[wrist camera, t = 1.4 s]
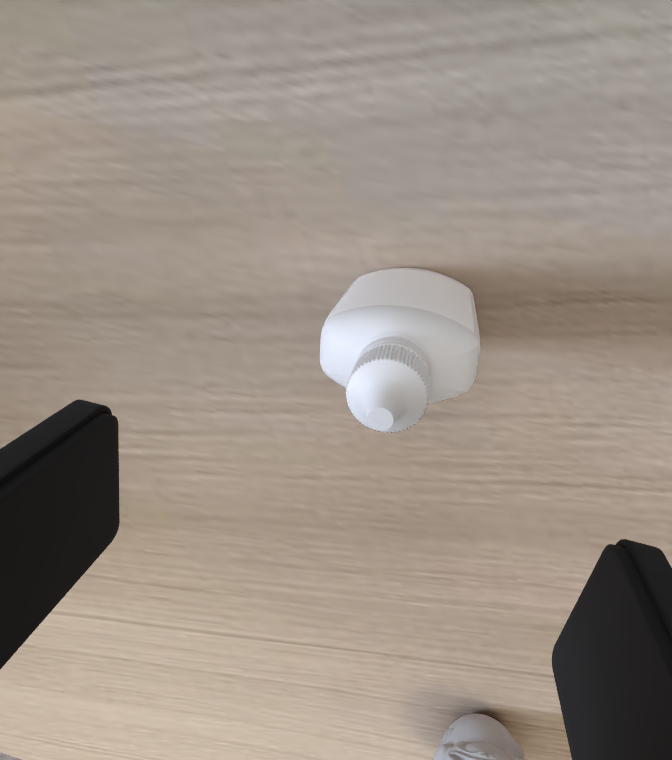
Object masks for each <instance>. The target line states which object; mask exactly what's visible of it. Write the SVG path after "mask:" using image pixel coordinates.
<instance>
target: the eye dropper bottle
mask: <svg viewBox="0 0 672 760" xmlns="http://www.w3.org/2000/svg"><path fill="white" fill-rule="evenodd" d="M480 348H481V345H480V335H479V328H478V322H477V315H476V309H475V303H474V297H473V293H472V292H471V290H470V289H469V288H468V287H467V286H465V285H464V284H462V283H460V282H458V281H456V280H454V279H452V278H450V277H448V276H445V275H443V274H440V273H436V272H433V271H429V270H424V269H418V268H390V269H383V270H378V271H374V272H370V273H367V274H364V275H362V276H360V277H359V278H357V279H356V280H355V281H354V282H353V283H352V285H351V286H350V287H349V289H348V290H347V291H346V292H345V294H344V295H343V296H342V298H341V299H340V300H339V302H338V303H337V304H336V306H335V307H334V308H333V310H332V311H331V313H330V314H329V316H328V317H327V319H326V321H325V323H324V326H323V328H322V333H321V343H320V364H321V367H322V370H323V371H324V372H325V374H326V375H327V376H328V377H330V378H331V379H332V380H334V381H335V382H337V383H338V384H340V385H341V386H343V387H345V388H346V397H347V398H346V400H347V401H348V402H347V403H348V405H349V406H348V407H349V408H350V411H352V414H353V415H355V417H356V418H357V420H359V421H360V423H363V425H365V426H367V427H369V428H371V429H374V430H375V431H376V430H377V431H379V432H380V431H382V432H387V433H388V432H391V433H392V432H397V431H401V430H404V429H408V427H411V426H412V425H415V423H416V422H418V420H420V419H421V417H422V416H423V413H425V410H426V409H427V405H428V403H434V402H439V401H444V400H447V399H451V398H454V397H457V396H460V395H462V394H464V393H466V392H467V391H469V390H470V388H471V387H472V385H473V383H474V380H475V377H476V372H477V367H478V362H479V355H480Z"/></svg>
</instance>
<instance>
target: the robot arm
mask: <svg viewBox="0 0 672 760" xmlns="http://www.w3.org/2000/svg"><path fill="white" fill-rule="evenodd" d="M118 527H119V451H118V420H117V418H116V417H115V416H113V415H112V412H111V410H110V408H108V407H107V406H104V405H100V404H96V403H92V402H88V401H84V400H76V401H74V402H72V403H70V404H69V405H67V406H66V407H64V408H63V409H61V410H60V411H58V412H57V413H55V414H54V415H52V416H50V417H49V418H47V419H46V420H44V421H43V422H41V423H40V424H38V425H37V426H35V427H34V428H32V429H30V430H29V431H27V432H26V433H24V434H23V435H21V436H20V437H18V438H17V439H15V440H13V441H12V442H10V443H9V444H7V445H6V446H4V447H3V448H1V449H0V669H1V668H2V667H3V666H4V665H5V663H6V662H7V661H8V660H9V659H10V658H11V656H12V655H13V654H14V653H15V652H16V651H17V650H18V648H19V647H20V646H21V645H22V644H23V643H24V642H25V640H26V639H27V638H28V637H29V636H30V635H31V634H32V632H33V631H34V630H35V629H36V628H37V627H38V626H39V624H40V623H41V622H42V621H43V620H44V619H45V618H46V616H47V615H48V614H49V613H50V612H51V611H52V609H53V608H54V607H55V606H56V605H57V604H58V603H59V601H60V600H61V599H62V598H63V597H64V596H65V595H66V593H67V592H68V591H69V590H70V589H71V588H72V587H73V585H74V584H75V583H76V582H77V581H78V580H79V579H80V577H81V576H82V575H83V574H84V573H85V572H86V571H87V569H88V568H89V567H90V566H91V565H92V564H93V562H94V561H95V560H96V559H97V558H98V557H99V556H100V554H101V553H102V552H103V551H104V550H105V549H106V548H107V546H108V545H109V544H110V543H111V542H112V540H113V539H114V537H115V535H116V533H117V531H118ZM552 667H553V673H554V677H555V682H556V686H557V691H558V696H559V700H560V705H561V710H562V714H563V719H564V724H565V728H566V733H567V737H568V742H569V747H570V751H571V756H572V760H672V568H671V566H670V564H669V562H668V561H667V559H666V557H665V555H664V554H663V552H662V551H661V550H660V549H658V548H656V547H653V546H649V545H645V544H641V543H637V542H634V541H630V540H626V539H623V540H620V541H618V542H617V543H616V545H612V544H610V545H607V546H606V547H605V549H604V550H603V552H602V554H601V556H600V558H599V560H598V562H597V564H596V566H595V568H594V570H593V572H592V574H591V575H590V577H589V579H588V581H587V583H586V585H585V587H584V589H583V591H582V593H581V595H580V597H579V599H578V601H577V603H576V605H575V607H574V609H573V611H572V612H571V614H570V616H569V618H568V620H567V622H566V624H565V626H564V628H563V630H562V632H561V634H560V636H559V638H558V640H557V642H556V644H555V646H554V649H553V653H552ZM0 760H21V759H18V758H15V757H12V756H9V755H6V754H3V753H0Z"/></svg>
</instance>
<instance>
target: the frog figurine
mask: <svg viewBox="0 0 672 760" xmlns="http://www.w3.org/2000/svg"><path fill="white" fill-rule="evenodd" d="M433 760H525V758H524V755H523V752H522V749H521V747H520V745H519V743H518V742H517V741H516V740H515V739H514V738H513V737H512V735H511V734H510V732H509V731H508V730H507V729H506V728H505V727H504V726H503V725H502V724H501V723H500V722H498V721H497V720H495V719H493V718H491V717H489V716H487V715H483V714H468V715H464V716H462V717H460V718H458V719H457V720H456V721H454V722H453V723H452V724H451V725H450V727H449V728H448V730H447V731H446V732H445V733H444V736H443V739H442V742H441V744H440V745H439V747H438V749H437V750H436V752H435V754H434V757H433Z"/></svg>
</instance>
